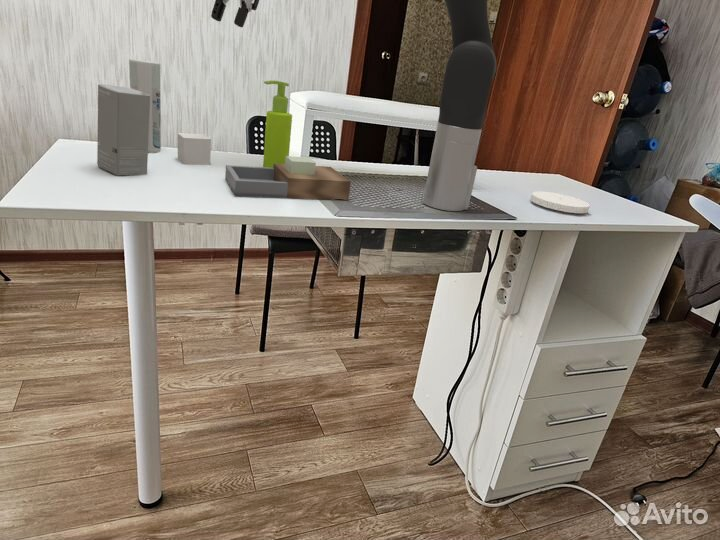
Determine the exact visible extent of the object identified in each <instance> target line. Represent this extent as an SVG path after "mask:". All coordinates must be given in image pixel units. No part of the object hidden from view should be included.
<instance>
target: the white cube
mask: <svg viewBox="0 0 720 540" xmlns="http://www.w3.org/2000/svg"><path fill="white" fill-rule="evenodd" d="M211 150H212V139H211V138H210V137H209V136H207V135H206V134H205V133H183V132H177V160H178V161H179V162H180V163H181V164H182V165H185V166H186V165H189V166H191V165H192V166H193V165H195V166H197V165H198V166H211V158H212V157H211V154H212V153H211V152H212V151H211Z"/></svg>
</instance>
